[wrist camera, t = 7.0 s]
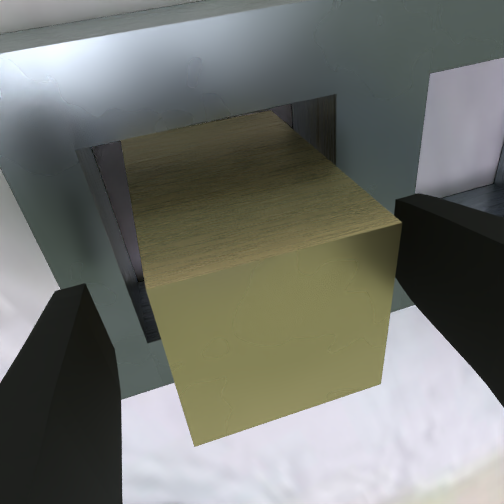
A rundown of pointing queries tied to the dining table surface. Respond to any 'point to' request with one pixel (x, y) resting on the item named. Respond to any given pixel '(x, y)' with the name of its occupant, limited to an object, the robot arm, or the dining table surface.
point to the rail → (219, 116)
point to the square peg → (259, 270)
